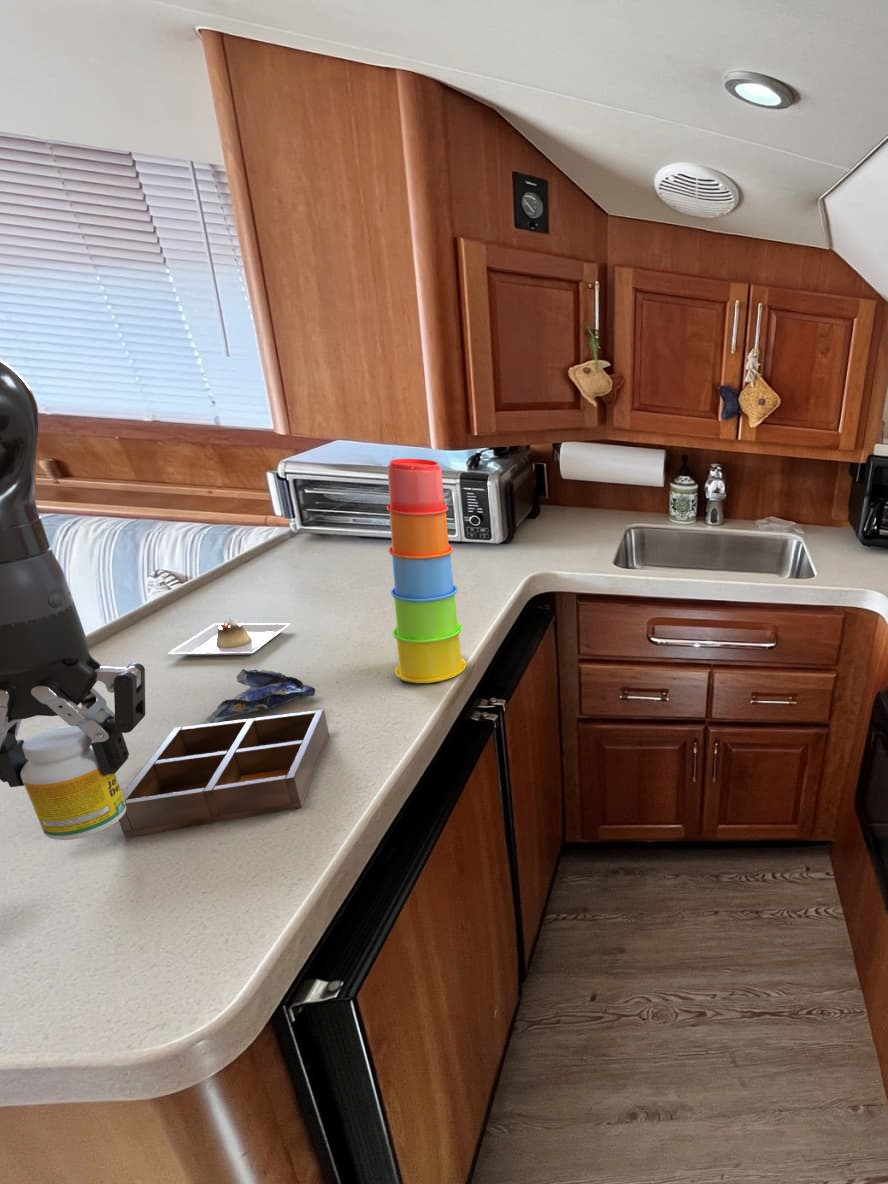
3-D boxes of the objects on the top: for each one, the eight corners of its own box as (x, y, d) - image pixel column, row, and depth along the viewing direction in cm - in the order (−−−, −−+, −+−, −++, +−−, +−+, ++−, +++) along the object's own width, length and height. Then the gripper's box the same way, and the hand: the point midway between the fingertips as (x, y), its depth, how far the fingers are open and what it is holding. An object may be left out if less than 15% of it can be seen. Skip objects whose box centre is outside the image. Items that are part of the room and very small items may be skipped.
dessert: (168, 660, 102) (159, 633, 100) (215, 629, 112) (208, 604, 111) (255, 658, 104) (248, 632, 102) (293, 628, 115) (287, 604, 113)
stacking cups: (408, 657, 109) (377, 454, 96) (473, 656, 111) (450, 457, 99) (385, 686, 100) (347, 466, 87) (456, 684, 102) (429, 469, 89)
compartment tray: (124, 838, 68) (112, 806, 66) (183, 756, 81) (174, 727, 79) (301, 807, 74) (294, 777, 72) (329, 736, 87) (323, 709, 85)
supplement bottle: (40, 823, 60) (4, 737, 56) (120, 796, 64) (91, 714, 60) (51, 851, 57) (14, 762, 53) (134, 821, 61) (105, 736, 58)
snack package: (216, 696, 94) (199, 735, 84) (215, 656, 92) (198, 691, 83) (317, 692, 100) (312, 727, 91) (318, 655, 99) (313, 687, 90)
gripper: (142, 585, 58) (187, 741, 64) (-89, 595, 52) (-15, 764, 59) (99, 617, 52) (154, 786, 58) (-169, 632, 46) (-77, 818, 52)
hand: (69, 774), depth 58 cm, fingers closed on supplement bottle, 5 cm apart
